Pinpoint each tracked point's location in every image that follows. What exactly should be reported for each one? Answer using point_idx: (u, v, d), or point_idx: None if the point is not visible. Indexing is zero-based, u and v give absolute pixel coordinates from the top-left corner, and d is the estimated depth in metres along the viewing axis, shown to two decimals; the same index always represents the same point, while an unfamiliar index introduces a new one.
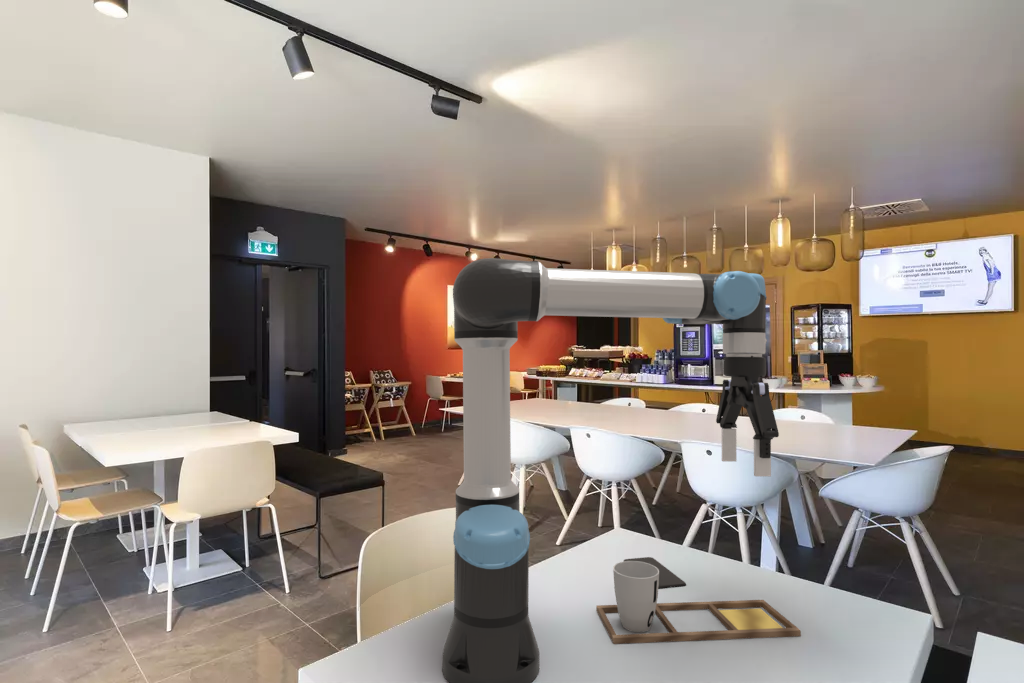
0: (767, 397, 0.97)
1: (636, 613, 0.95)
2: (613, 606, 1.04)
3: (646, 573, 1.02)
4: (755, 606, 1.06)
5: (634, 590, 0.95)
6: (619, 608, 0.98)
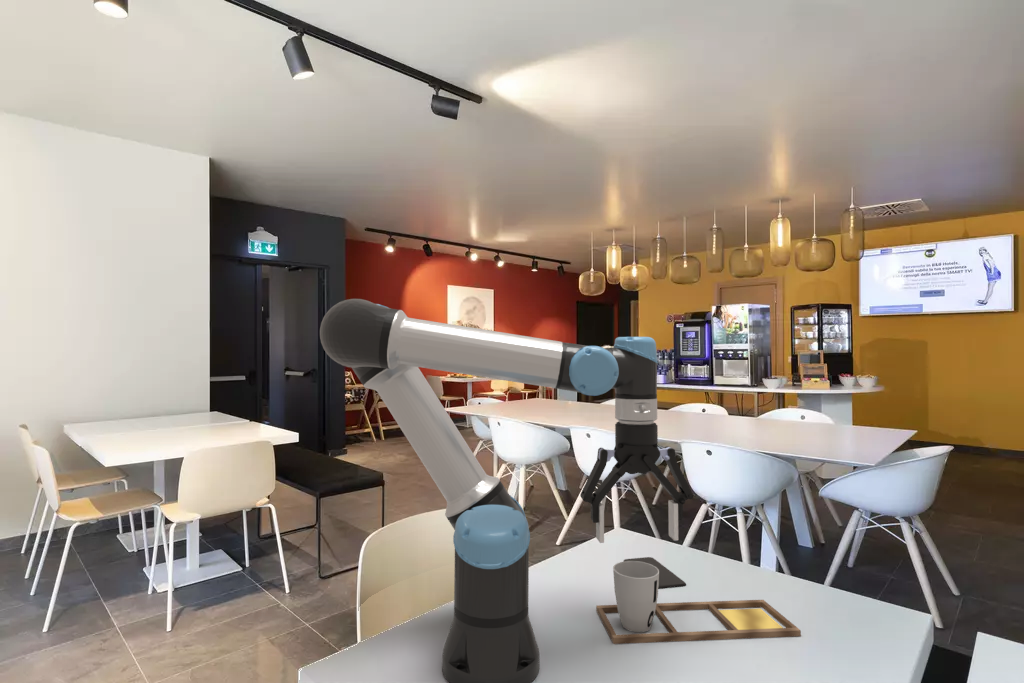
0: (598, 463, 0.98)
1: (636, 613, 0.95)
2: (613, 606, 1.04)
3: (646, 573, 1.02)
4: (755, 606, 1.06)
5: (634, 590, 0.95)
6: (619, 608, 0.98)
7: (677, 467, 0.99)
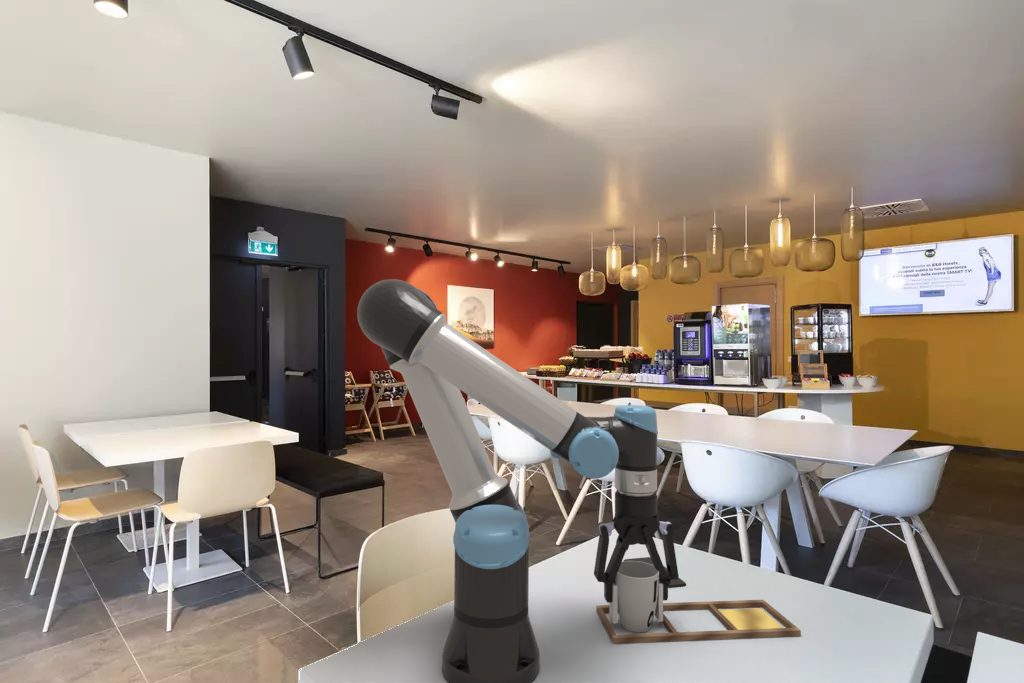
0: (602, 541, 0.98)
1: (636, 613, 0.95)
2: None
3: (646, 573, 1.02)
4: (755, 606, 1.06)
5: (634, 590, 0.95)
6: (619, 608, 0.98)
7: (671, 544, 0.98)
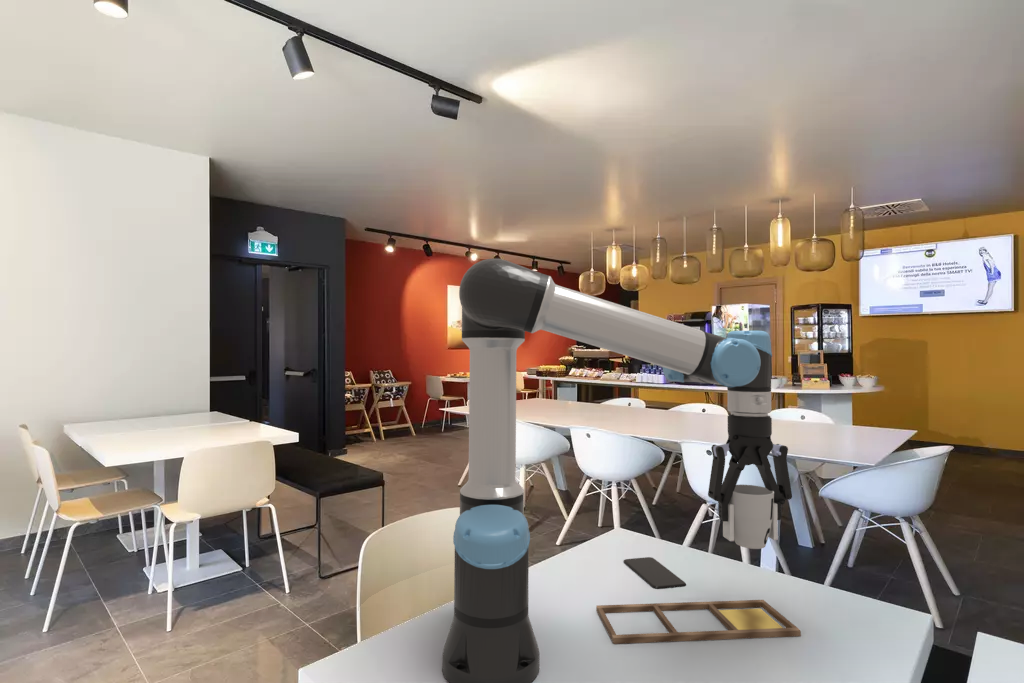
0: (717, 461, 1.00)
1: (754, 529, 0.98)
2: (613, 606, 1.04)
3: None
4: (755, 606, 1.06)
5: (752, 507, 0.97)
6: (735, 527, 1.00)
7: (785, 465, 1.01)
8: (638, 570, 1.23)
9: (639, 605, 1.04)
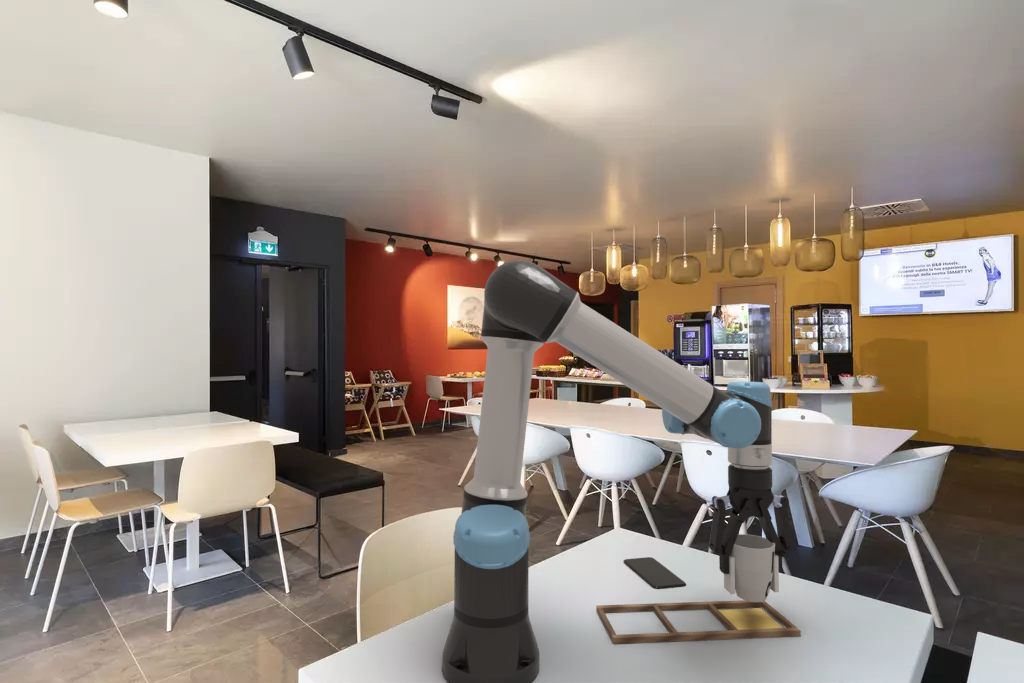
0: (718, 513, 1.00)
1: (755, 583, 0.97)
2: (613, 606, 1.04)
3: (758, 546, 1.04)
4: (755, 606, 1.06)
5: (753, 561, 0.97)
6: (736, 579, 1.00)
7: (786, 517, 1.00)
8: (638, 570, 1.23)
9: (639, 605, 1.04)
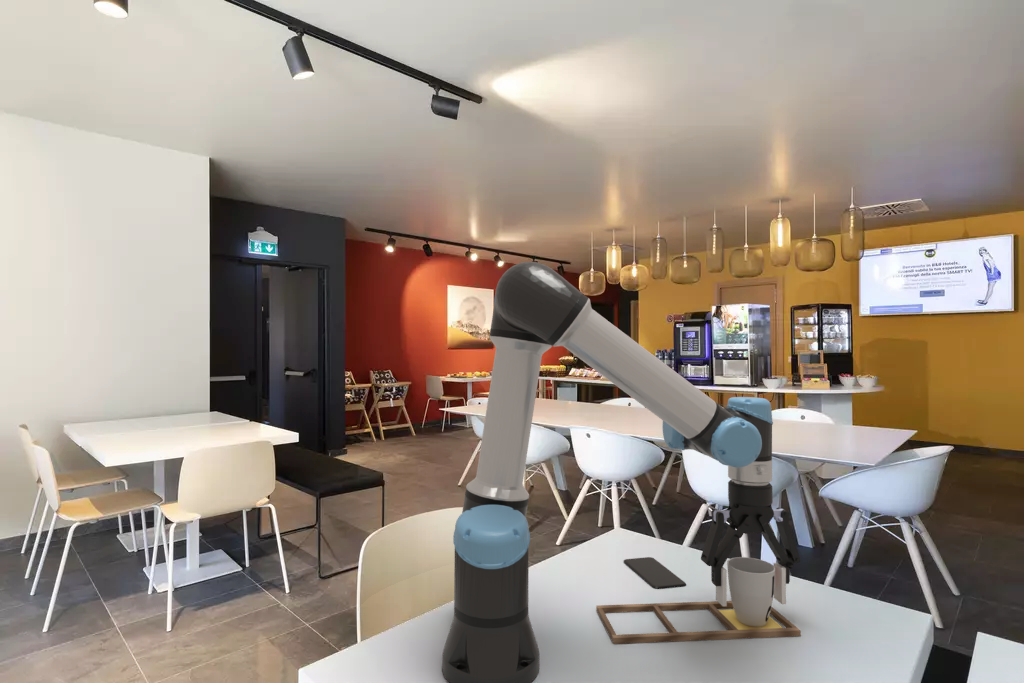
0: (716, 526, 1.00)
1: (755, 608, 0.97)
2: (613, 606, 1.04)
3: (758, 569, 1.04)
4: None
5: (753, 586, 0.97)
6: (736, 604, 1.00)
7: (789, 530, 1.00)
8: (638, 570, 1.23)
9: (639, 605, 1.04)
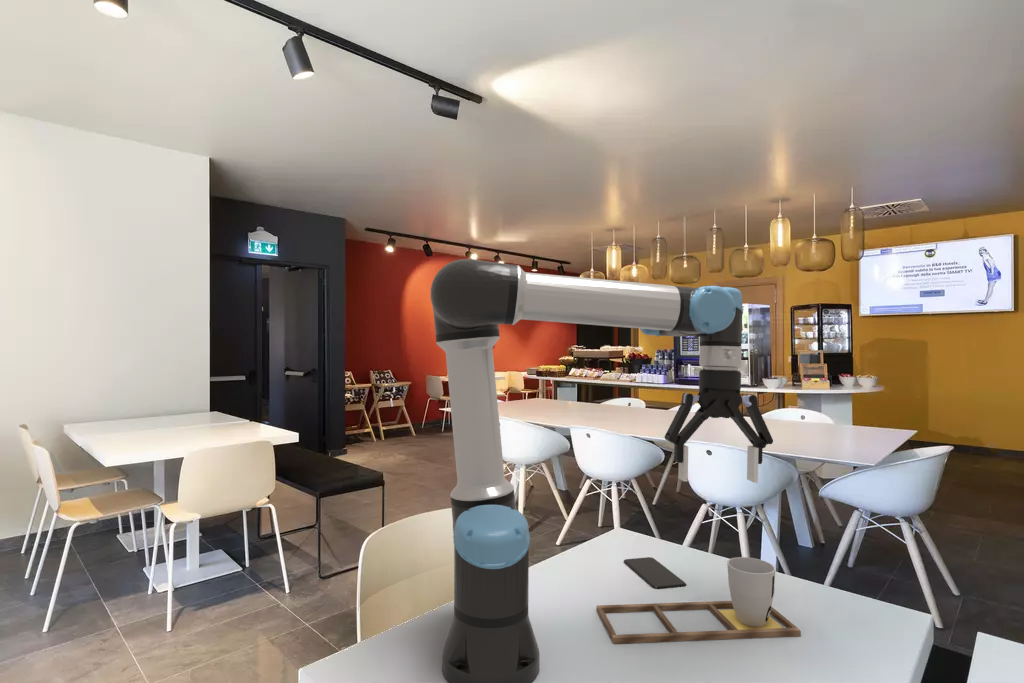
0: (684, 406, 1.03)
1: (755, 608, 0.97)
2: (613, 606, 1.04)
3: (758, 569, 1.04)
4: None
5: (753, 586, 0.97)
6: (736, 604, 1.00)
7: (758, 413, 1.04)
8: (638, 570, 1.23)
9: (639, 605, 1.04)
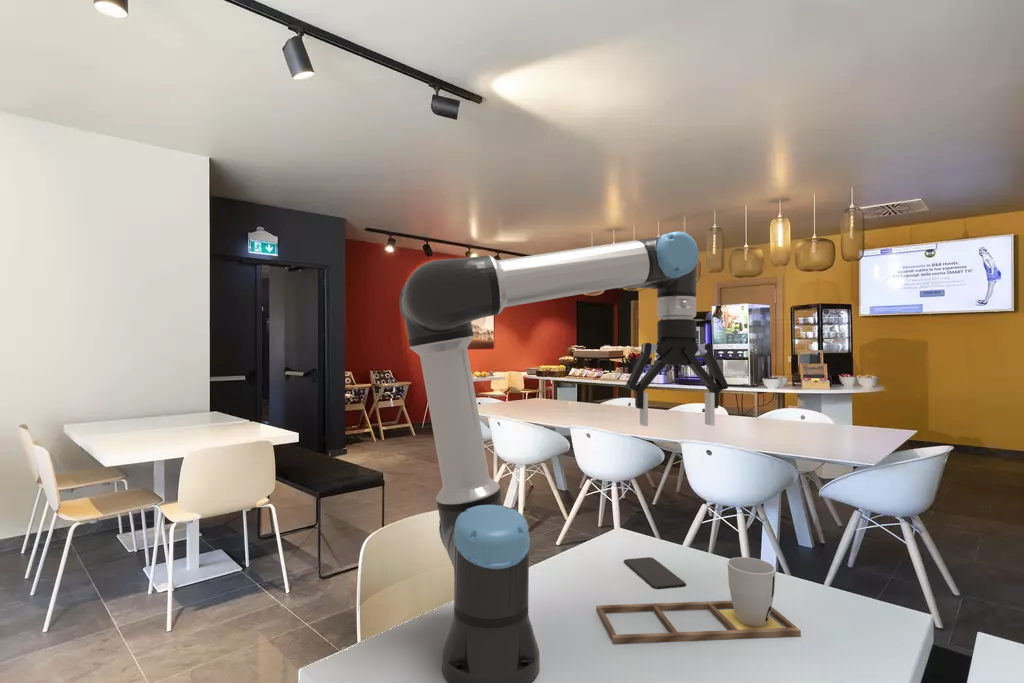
0: (643, 355, 1.08)
1: (755, 608, 0.97)
2: (613, 606, 1.04)
3: (758, 569, 1.04)
4: None
5: (753, 586, 0.97)
6: (736, 604, 1.00)
7: (714, 360, 1.09)
8: (638, 570, 1.22)
9: (639, 605, 1.04)
